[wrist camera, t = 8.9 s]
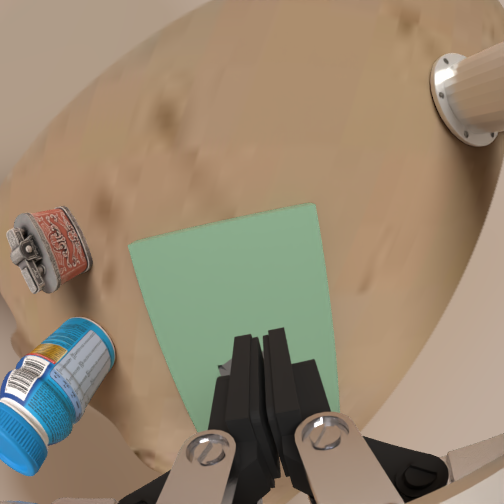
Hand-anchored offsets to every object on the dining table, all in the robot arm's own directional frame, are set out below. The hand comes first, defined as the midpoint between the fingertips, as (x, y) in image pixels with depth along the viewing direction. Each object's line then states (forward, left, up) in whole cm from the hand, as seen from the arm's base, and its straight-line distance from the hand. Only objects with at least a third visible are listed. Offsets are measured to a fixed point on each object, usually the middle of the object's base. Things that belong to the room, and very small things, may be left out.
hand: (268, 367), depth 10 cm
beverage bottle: (+23, +8, -21) cm, 32 cm away
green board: (+3, +10, -21) cm, 23 cm away
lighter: (+20, -5, -21) cm, 29 cm away
